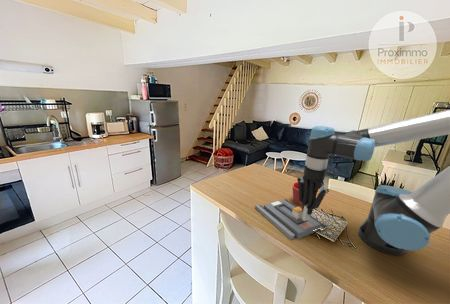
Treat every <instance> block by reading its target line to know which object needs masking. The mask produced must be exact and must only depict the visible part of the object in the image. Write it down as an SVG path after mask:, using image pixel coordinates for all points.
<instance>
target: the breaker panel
mask: <svg viewBox="0 0 450 304" xmlns="http://www.w3.org/2000/svg"><path fill="white" fill-rule="evenodd" d="M284 199H285V198H284ZM284 199H279V200H276V201H273V202H268V203H266V204H263V208H264V209H266V210H267V211H268V212H269V213H271V214H272V215H273V216H274V217H275V218H277V219H278V220H279V221H280V222H282V223H283V224H284V225H285V226H286V227H288V228H289V229H290V230H291V231H293V232H294V233H295V234H296V235H297V236H296V238H295V239H297V240H300V239H302V238H304V237H307V236H309V235H311V234H313V233H315V232H313V230H315V229H318V228H320V225H321V224H320V223H318V222H317V221H315V220H314V219H312V218H311V217H309V220H306V221H304V220H302V219H301V220H298V221H297V220H296V219H295V218H293V217H292V210H293V208H295V207H294V206H293V205H291V204H290V203H288V202H287V201H285V200H284Z"/></svg>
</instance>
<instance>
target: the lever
mask: <svg viewBox="0 0 450 304" xmlns="http://www.w3.org/2000/svg"><path fill="white" fill-rule="evenodd" d="M302 215H303V211H302V207H301V206H297V207H295V208H293V210H292V217H293V218H295V219H296V220H297V221H298V220H301V219H302Z"/></svg>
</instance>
